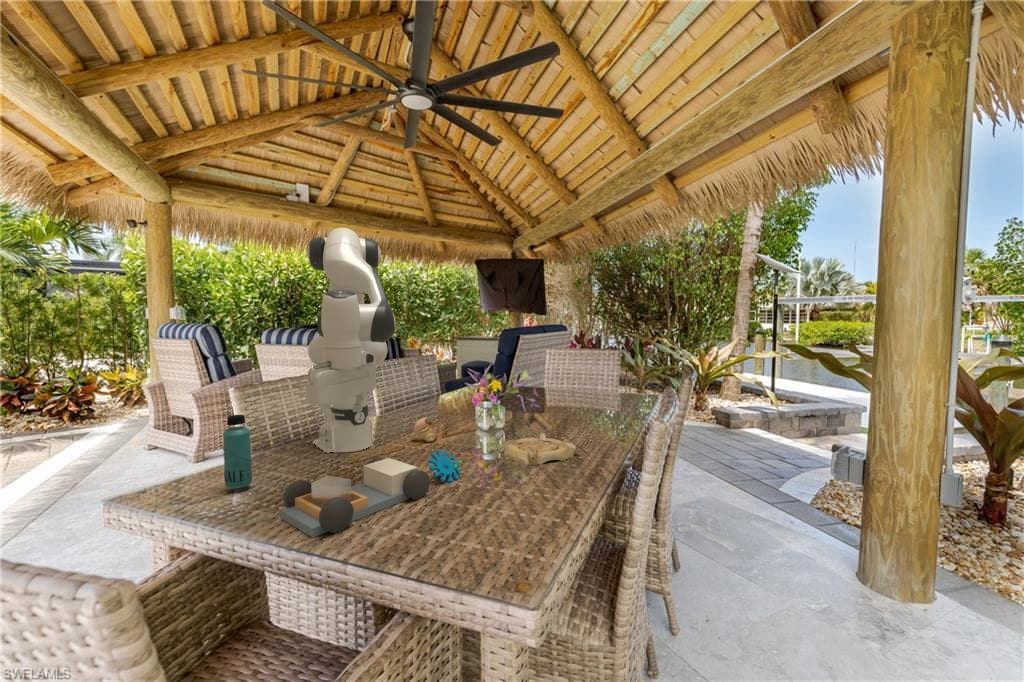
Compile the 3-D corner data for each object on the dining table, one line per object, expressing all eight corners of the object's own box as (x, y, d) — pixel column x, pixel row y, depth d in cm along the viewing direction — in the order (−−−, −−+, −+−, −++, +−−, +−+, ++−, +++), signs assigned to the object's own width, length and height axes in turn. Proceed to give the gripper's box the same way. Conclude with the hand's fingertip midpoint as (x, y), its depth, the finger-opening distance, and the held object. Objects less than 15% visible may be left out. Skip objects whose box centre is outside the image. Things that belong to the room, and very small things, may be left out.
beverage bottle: (249, 482, 128) (246, 411, 127) (256, 489, 124) (253, 415, 122) (221, 489, 124) (218, 415, 122) (228, 496, 119) (225, 419, 118)
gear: (437, 482, 125) (425, 449, 130) (427, 493, 128) (416, 461, 133) (469, 477, 132) (457, 447, 138) (459, 487, 135) (447, 457, 140)
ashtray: (584, 464, 145) (585, 448, 144) (509, 468, 141) (509, 452, 140) (563, 442, 168) (563, 428, 168) (498, 445, 164) (498, 431, 164)
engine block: (312, 508, 108) (311, 482, 107) (327, 499, 112) (326, 475, 112) (336, 512, 105) (335, 486, 105) (351, 504, 110) (350, 479, 109)
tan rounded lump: (444, 442, 169) (433, 428, 162) (420, 456, 168) (408, 442, 161) (437, 424, 175) (427, 410, 169) (414, 437, 175) (402, 423, 168)
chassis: (277, 516, 108) (276, 486, 107) (391, 477, 133) (391, 453, 132) (317, 540, 97) (316, 508, 96) (434, 492, 121) (433, 466, 121)
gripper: (319, 365, 100) (322, 428, 101) (380, 354, 119) (381, 408, 120) (297, 364, 102) (299, 425, 104) (360, 353, 121) (361, 405, 123)
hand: (344, 416), depth 112 cm, fingers open, 8 cm apart
